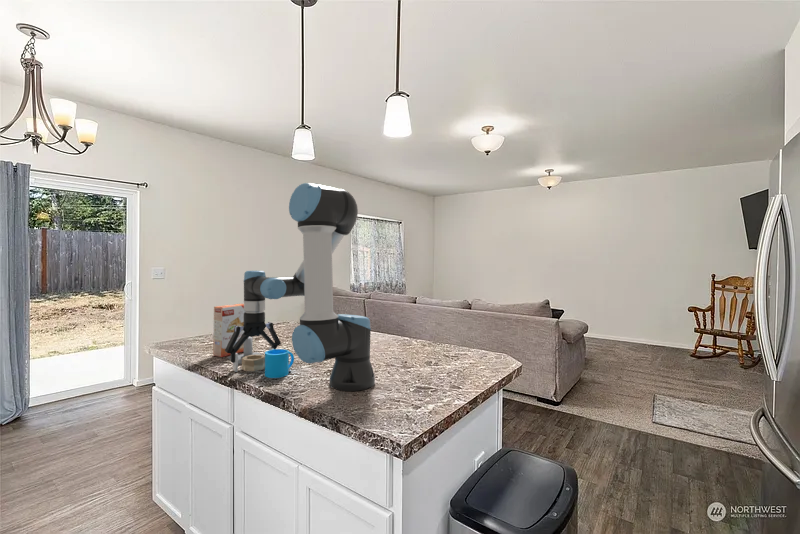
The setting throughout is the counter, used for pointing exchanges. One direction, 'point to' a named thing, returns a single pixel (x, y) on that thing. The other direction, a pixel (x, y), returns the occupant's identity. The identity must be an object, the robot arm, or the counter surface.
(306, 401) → the counter surface
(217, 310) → the cracker box
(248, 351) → the post plate
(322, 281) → the robot arm
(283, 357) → the mug
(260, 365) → the ring
